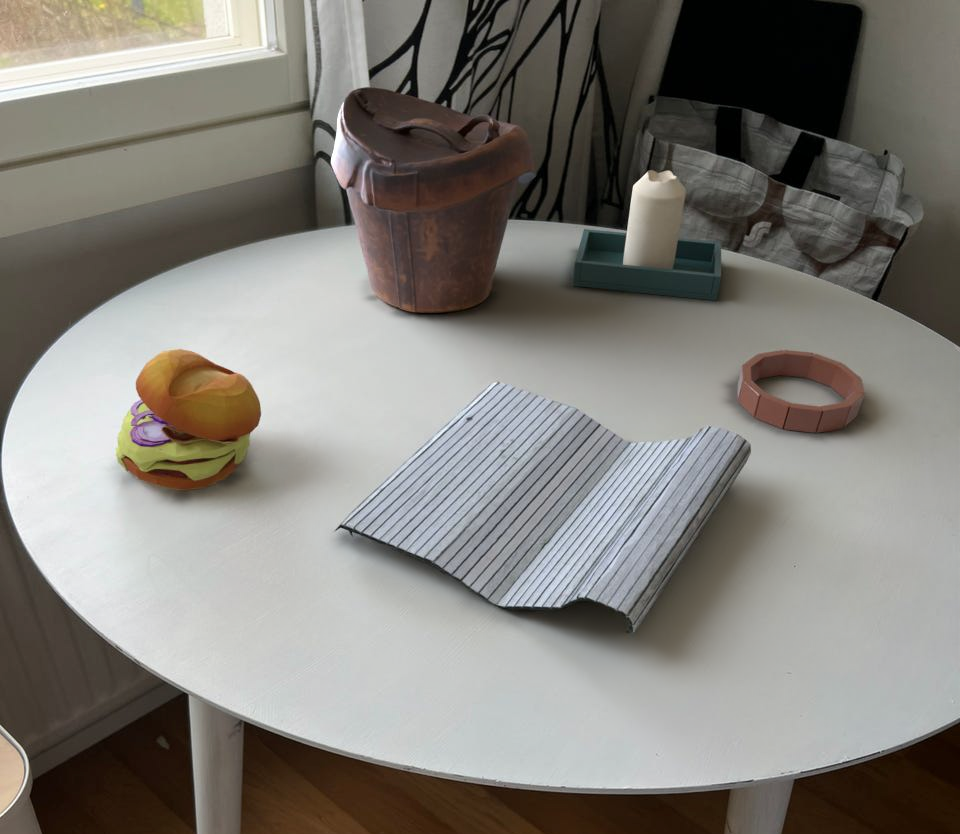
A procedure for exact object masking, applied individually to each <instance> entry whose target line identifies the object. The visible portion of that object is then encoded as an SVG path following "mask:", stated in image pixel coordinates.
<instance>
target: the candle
mask: <svg viewBox="0 0 960 834" xmlns="http://www.w3.org/2000/svg"><path fill="white" fill-rule="evenodd" d="M631 190H632V191H631V197H630V206H629V213H628V221H627V228H626V233H627V235H626V243H625V250H624V258H623V265H632V266H642V267H652V268H662V269H672V270H673V265H674V260H675V254H676V248H677V242H678V238H679V236H680V229H681V223H682V218H683V212H684V206H685V201H686V194H687V190H686V188H685V187H684V184H683V183H682V182H681V181H680V180H679V178H678V177H677V175H674V174H673V172H672V171H671V170H664V171H661V172H657V171H655V170H653V169H650V170H647V171H646V173H644V175H643V176H642V177H641V178H640V179H639V180H638V181H636V182H635V183H634V184H633V186H632V189H631Z"/></svg>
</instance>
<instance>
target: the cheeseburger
mask: <svg viewBox="0 0 960 834" xmlns="http://www.w3.org/2000/svg"><path fill="white" fill-rule="evenodd" d="M135 390H136V393H137V396H138V397H139V398H140V399H139V400H138V401H136V402H134V403H133V404H132V406H131V407H130V409H129V410H128V412H126V414H125V416H124V418H123V419H122V422H121V423H122V424H121V430H120V431H119V433H118V434H117V445H116V447H115V455H116V459H117V462H118V464H119V465H120V466H121V467H122V468H123V469H124V470H125V472H127V473H130V474H131V475H133V476H134V477H135V478H137V479H138V480H140V481H143V482H146V483H149V484H151V485H154V486H157V487H161V488H166V489H172V490H177V491H185V490H186V491H187V490H196V489H205V488H207V487H210V486H211V485H214V484H216V483H218V482H220V481H223V480H225V479H226V478H227V477H229V475H230V474H232V473H233V472H234V471H235V470H236V469H237V468H238V466H239V464H241V463H242V461H243V460H244V458H245V456H246V455H247V452H248V450H249V447H250V439H251V438H250V437H251V434H252V433H253V431H255V430H256V428H257V427H258V426H259V424H260V421H261V417H262V408H261V401H260V399H259V397H258V394H257V393H256V391H255V389H254V386H253V385H252V383H251V381H249V379H247V377H245V375H243V374H241V373H239V372H235V371H233V370H231V369H229V368H227V367H224V366H221V365H219V364H217V363H214V362H213V361H211V360H209V359H208V358H206V357H205V356H203V355H202V354H199V353H198V352H194V351H192V350H187V349H181V348H178V349H170V350H163V351H161V352H160V353H158V354H156V355H155V356H154V357H153V358H151V359H149V360H148V361H147V362H146V363H145V365H144V366H143V368H142V369H141V371H140V372H139V373H138V375H137V377H136V380H135Z"/></svg>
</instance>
